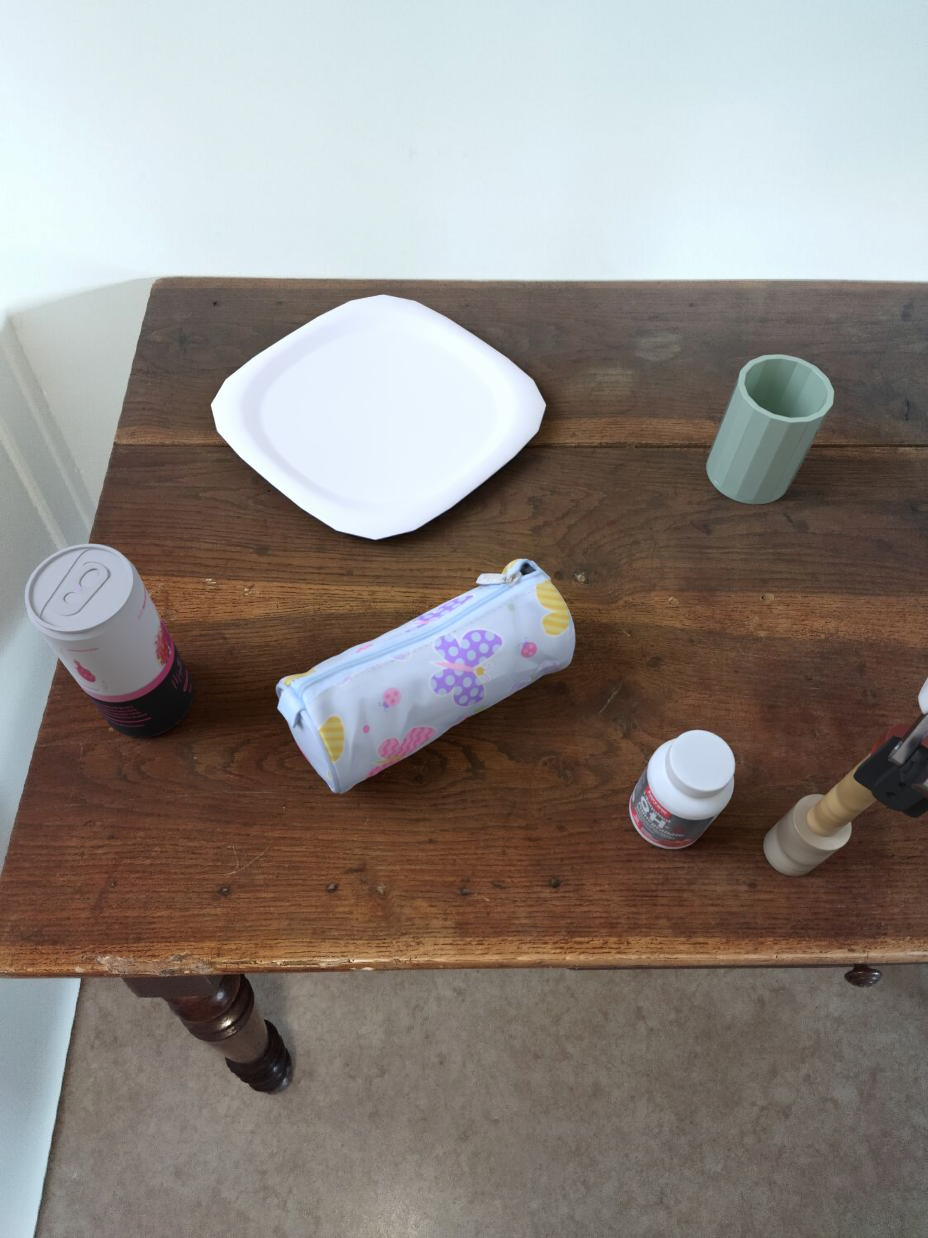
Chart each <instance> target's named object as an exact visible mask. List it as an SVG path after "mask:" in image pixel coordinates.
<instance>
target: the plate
mask: <svg viewBox="0 0 928 1238" xmlns="http://www.w3.org/2000/svg"><path fill="white" fill-rule="evenodd" d="M210 407H211V411H212V415H213V419H214V424H215V428H216V432H217V434H218V435H219V436H220V437H221V438H222V439H223V440H224V441H225V443H226V444H227V445H228V446H229V447H230V448H231V449H232V451H234V453H235V454H236V455H237V456H238V457H239V458H240V460H242V461H243V462H244V463H245V464H247V466H248V467H250V468H251V469H252V470H254V471H255V472H256V473H257V474H258V475H260V476H261V477H262V478H263V479H264V480H265V481H266V482H267V483H268V484H270V485H271V486H272V487H273V488H274V489H276V490H277V491H278V492H279V493H281V494H282V495H283V496H284V497H286V498H287V499H288V500H289V501H291V502H292V503H293V504H294V505H295V506H297V507H298V508H299V509H301V510H302V511H303V512H305V513H307V514H308V515H310V516H311V517H313V518H314V519H316V520H317V521H319V522H321V523H322V524H324V525H326V526H327V527H329V529H331V530H333V531H335V532H337V533H340V534H346V535H348V536H353V537H358V538H362V539H366V540H371V541H375V542H377V541H380V540H384V539H390V538H393V537H397V536H401V535H405V534H410V533H414V532H416V531H418V530H419V529H421V528H422V527H424V526H425V525H427V524H429V523H431V522H432V521H433V520H435V519H437V518H439V517H440V516H442V515H443V514H445V513H447V512H449V511H450V510H451V509H453V508H454V507H455V506H456V505H458V504H459V503H460V502H461V501H462V500H464V499H465V498H466V497H468V496H469V495H470V494H472V493H473V492H474V491H476V490H477V489H478V488H479V487H481V486H482V485H483V484H485V483H486V482H487V481H488V480H489V479H490V478H492V477H493V476H494V475H496V473H497V472H499V471H500V470H502V468H504V467H505V466H506V465H507V464H509V463H510V462H511V461H512V460H513V459H515V457H517V455H518V454H519V453H521V451H522V450H523V449H524V448H525V447H526V446H527V445H528V444H529V442H530V441H532V439H533V438H534V437H536V436H537V434H538V433H539V430H540V427H541V424H542V421H543V417H544V414H545V411H546V407H547V404H546V402H545V400H544V398H543V396H542V394H541V391H540V390H539V388H538V386H537V383H536V382H535V381H534V379H533V378H532V377H531V376H529V375H528V374H527V373H526V372H524V370H523V369H521V368H520V367H519V366H518V365H517V364H515V363H514V362H513V361H512V360H511V359H509V358H508V357H507V356H505V355H504V354H502V353H501V352H500V351H498V350H497V349H495V348H494V347H493V346H491V345H490V344H488V343H486V342H485V341H484V340H482V339H481V338H479V337H478V336H476V335H475V334H473V333H472V332H470V331H468V330H467V329H466V328H464V327H463V326H461V325H459V324H458V323H456V322H455V321H453V320H452V319H451V318H449V317H447V316H445V315H444V314H441V313H439V311H438V312H437V311H435V310H434V309H431V308H430V307H428V306H426V305H424V304H422V303H420V302H418V301H416V300H412V299H408V298H403V297H397V296H393V295H388V294H378V295H373V296H368V297H362V298H357V299H353V300H349V301H346V302H345V303H343V304H341V305H339V306H337V307H335V308H333V309H330V310H329V311H326V312H325V313H323V314H320V315H319V316H317V317H315V318H314V319H312V320H310V321H309V322H307V323H305V324H303V325H302V326H301V327H299V328H297V329H295V330H293V331H292V332H291V333H289V334H287V335H286V336H284V337H282V338H281V339H280V340H278V341H276V342H275V343H273V344H272V345H270V346H268V347H267V348H266V349H264V350H262V351H261V352H259V353H258V354H256V355H255V356H253V357H252V358H250V360H248V361H247V362H245V364H243V365H242V366H241V367H240V368H238V369H237V370H236V371H234V373H232V374H231V375H229V376H228V377H227V378H226V379H225V380H224V382H223V383H222V385H221V387H220V388H219V390H218V392H217V393H216V396H215V397H214V398H213V400H212V402H211V404H210Z"/></svg>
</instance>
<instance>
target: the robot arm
mask: <svg viewBox="0 0 928 1238" xmlns="http://www.w3.org/2000/svg"><path fill="white" fill-rule="evenodd" d="M917 699H918V705H919V708H920V710H921V714H920V715H919V716H918V718H916V719H915V721H914V722H913V724H911V725H912V726H911V727H910V729H909V730H908V731H907V732H906V734H905V735H904V736H903V737H902V738H900V737H896V736H894V735H893V736H892V737H891V738H890V739H889V740H888V741H887V742H885V743H884V744H883V745H882V746H881V747H880V748H879V749H878V750H876V751H875V752H874V753H873V754H872V755H871V756H870V757H869V758H867V759H866V760H865V761H864V762H863V763H862V764H861V765H860V766H858V768H857V770H856V771H855V773H854V775H853V778H854V779H855V781H857V782H858V783H859V784H861V785H862V786H864V787H865V788H867V789H868V790H870V791H871V793H872V795H873V796H874V798H875V799H877V800H876V801H877V802H879V803H880V804H882V805H884V806H885V807H887V808H889V809H890V810H892V811H894V812H901V813H903V814H904V815H906V816H908V818H909V817H910V818H913V819H918V818H920V817H921V816H923V815H924V814H925V813H927V812H928V748H927V747H925V746H924V745H922V744H921V743H922V742H923V740H924V739H925V738H926V737H927V735H928V677H927V678H926V679H925V681H924V683H923V685H922V686H921V688H920V691H919V693H918V696H917Z"/></svg>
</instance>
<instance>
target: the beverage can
mask: <svg viewBox="0 0 928 1238" xmlns="http://www.w3.org/2000/svg"><path fill="white" fill-rule="evenodd" d="M24 602H25V607H26V611H27V616H28V617H29V620H30V621H31V623H32V624H33V626H34V627H35V628H36V630H37V631H38V633H39V634H40V635H41V636H42V637H43V639H44V640H45V642H46V643H47V644H48V645H49V648H51V650H52V651H53V652H54V653H55V655H56V656H57V657H58V658H59V660H60V662H61V663H62V664H63V666H64V667H65V668H66V669H67V671H68V672H69V673H70V675H71V676H72V677H73V679H74V680H75V681H76V683H77V684H78V685H79V686H80V687H81V689H82V690H83V692H84V693H85V694H86V696H87V697H88V698H89V699H90V701H91V702H92V703H93V705H94V706H95V708H96V709H97V710H98V712H99V713H100V714H101V715H102V717H103V718H104V719H105V720H106V722H107V723H108V724H109V726H110V727H111V728H113V729H114V731H116V732H118V733H120V734H121V735H124V736H127V737H132V738H149V737H153V736H154V737H155V736H158V735H160V734H163V733H166V732H167V731H169V730H171V729H172V728H174V727H175V726H176V725H177V724H179V723H180V722H181V721H182V720H183V719H184V717H185V716H186V715H187V713H188V711H189V710H190V708H191V706H192V704H193V702H194V701H193V700H194V697H195V686H194V685H195V684H194V680H193V678H192V676H191V674H190V673H191V672H189V669H188V668H187V665H186V663H185V662H184V659H183V658H182V656H181V654H180V652H179V650H178V648H177V647H176V645H175V642H174V640H173V638H172V636H171V634H170V632H169V631H168V629H167V627H166V625H165V622H164V620H163V619H162V617H161V614H160V613H159V611H158V609H157V607H156V605H155V603H154V601H153V599H152V597H151V595H150V594H149V591H148V590H147V587H146V586H145V583H144V582H143V580H142V577H141V576H140V574H139V572H138V570H137V568H136V567H135V565H134V564H133V563H132V561H131V560H130V559H128V558H127V557H125V555H123V554H122V552H120V551H119V550H117V549H115V548H113V547H111V546H108V545H104V544H100V543H80V544H76V545H71V546H67V547H65V548H61V549H60V550H58V551H56V552H54V553H53V554H51V555H49V556H48V557H47V558H45V559H44V560H43V561H42V562H41V563H40V564H38V565H37V567H36V568H35V569H34V570H33V571H32V573H31V575H30V576H29V578H28V580H27V583H26V585H25V590H24Z"/></svg>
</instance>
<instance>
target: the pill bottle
mask: <svg viewBox="0 0 928 1238" xmlns="http://www.w3.org/2000/svg"><path fill="white" fill-rule="evenodd" d="M735 770H736V760H735V756H734V753H733V751H732V749H731V747H730V746H729V744H728V743H727V742H726V741H725V740H724V739H723V738H722V737H720V736H718V735H717V734H715V733H713V732H711V731H708V730H702V729H694V730H688V731H685V732H683V733H681V734H680V735H679V736H677V737H675V738H672V739H670V740H668V741H666V742H664V743H662V744H661V745H660V746H659V747H658V748H657V749H656V750H655V751H654V752H653V754H652V755H651V756H650V758H649V761H648V762H647V764H646V766H645V768H644V770H643V772H642V773H641V775H640V777H639V779H638V781H637V783H636V785H635V786H634V788H633V791H632V793H631V796H630V799H629V804H628V810H629V817H630V819H631V822H632V825H633V827H634V828H635V829H636V831H637V832H638V834H639V835H640V836H641V837H642V838H643V839H644V840H646V842H648V843H649V844H651V845H653V846H656V847H659V848H662V849H666V850H680V849H683V848H687V847H689V846H691V845H692V844H694V843H695V842H696V841H697V840H698V839H699V838H700V837H701V836H702V835H703V834H704V833H705V831H706V830H707V829H708V828H709V827H710V826H711V824H712V823H713V822H714V821H715V819H716V818H717V817H718V816H719V815H720V814H721V812H723V810H724V809H726V807H727V805H728V804H729V802H730V800H731V798H732V797H733V796H732V795H733V793H734V788H735V787H734V786H735V776H734V774H735V773H736V771H735Z"/></svg>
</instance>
